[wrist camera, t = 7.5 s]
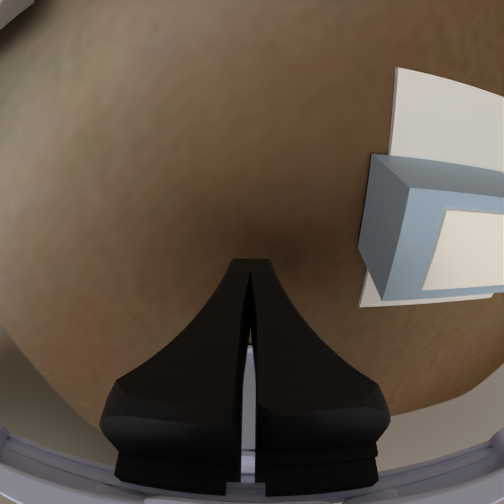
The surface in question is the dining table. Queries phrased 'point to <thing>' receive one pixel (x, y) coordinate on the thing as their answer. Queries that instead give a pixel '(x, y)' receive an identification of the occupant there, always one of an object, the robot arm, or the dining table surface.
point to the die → (12, 9)
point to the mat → (442, 138)
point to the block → (432, 229)
